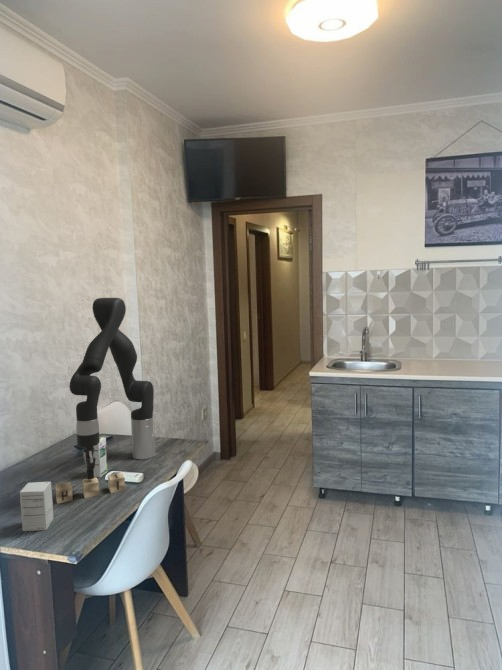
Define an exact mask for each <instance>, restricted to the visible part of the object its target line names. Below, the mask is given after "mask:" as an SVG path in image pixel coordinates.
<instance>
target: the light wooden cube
mask: <svg viewBox="0 0 502 670" xmlns="http://www.w3.org/2000/svg"><path fill="white" fill-rule="evenodd" d="M55 499H56V504H57V505H58V504H62V503H67V502H73V499H74V498H73V486H72V483H71V481H69V482H63V483H57V484H55Z"/></svg>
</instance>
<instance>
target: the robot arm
mask: <svg viewBox="0 0 502 670" xmlns="http://www.w3.org/2000/svg"><path fill="white" fill-rule="evenodd" d="M126 309H127V306H126V303H125V301H124V300H123V299H122V298H120V297H98V298H96V299H95V300H94V301H93V303H92V313H93V317H94V318H95V321H96V324H97V325H98V327H99V328H100V330H101V331H100V332H99V333H98V334H97V335H96V336H95V337H94V338H93V339H92V340H91V342H90V343H89V344H88V346H87V348H86V351H85V353H84V356H83V359H82V362H81V363H80V365H79V366H78V367H77V369H76V371H75V372H74V373H73V375H72V376H71V378H70V381H69V383H68V384H69V385H68V386H69V390H70V392H71V394H72V395H74V396H85V397H86V399H85V401H84V400H83V401H79V402H78V403H77V404H76V406H75V411H76V413H75V414H76V415H75V416H76V417H75V418H76V424H75V426H76V429H75V430H76V444H77V446H78V447H80V448H83V449H82V454H83V461H84V465H85V468H86V479H88V480H89V479H93V478H95V477H94V468H95V460H96V458H95V454H96V452H95V450H94V447H93V446H95V445H97V444H99V442H100V439H99V437H100V423H99V418H98V403H99V397H100V394H101V390H102V383H101V380H100V378H99V377H98V376H96V375H92V374H96V373H100V371H101V370H102V369H103V366H104V363H105V360H106V356H107V353H108V351H110V354H111V356H112V358H113V360H114V363H115V365H116V369H117V370H118V373H119V375H120V378H121V383H122V386H123V389H124V393H125V396H126V398H127V400H128V401H129V402H132V403H141V407H138V408H136V409H133V410H132V411H131V412H130V421H131V422H130V425H131V427H130V428H131V448H132V450H131V451H132V458H133V459H136V460H148V459H151V458H153V457H156V436H155V434H154V399H155V398H154V397H155V396H154V392H155V391H154V385H153V383H152V382H151V381H149V380H137V379H135V377H134V374H133V372H134V369H135V367H136V364H137V362H138V354H137V351H136V348H135V345H134V343H133V342H132V340H131V339H130V338H129V337H128V336H127V335H126V334H125V333H123V332H122V330H120V327H121V325H122V323H123V320H124V318H125V315H126V312H127V311H126Z"/></svg>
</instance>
